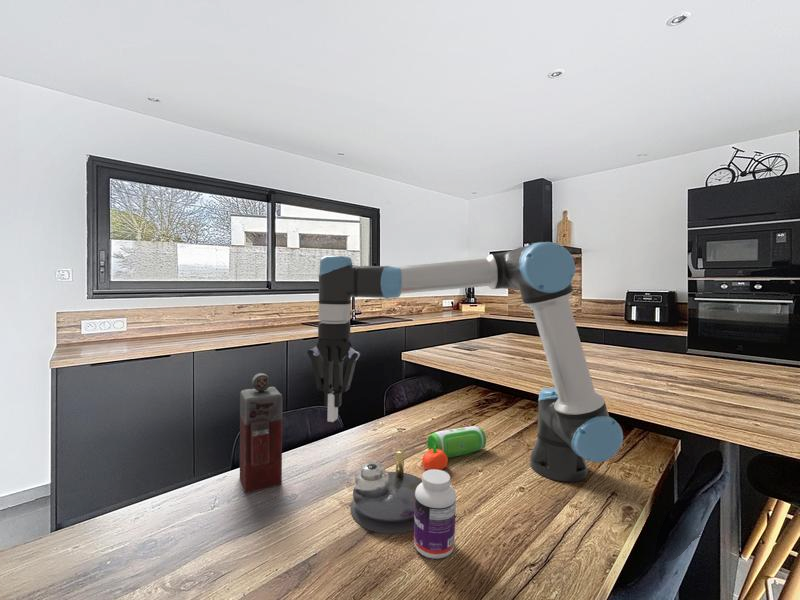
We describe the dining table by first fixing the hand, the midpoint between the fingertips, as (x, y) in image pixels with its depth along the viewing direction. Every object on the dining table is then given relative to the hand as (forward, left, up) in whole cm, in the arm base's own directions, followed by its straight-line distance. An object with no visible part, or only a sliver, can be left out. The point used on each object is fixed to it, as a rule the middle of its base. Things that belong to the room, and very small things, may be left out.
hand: (332, 419), depth 91 cm
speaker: (-27, -33, -19) cm, 47 cm away
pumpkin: (-22, -21, -19) cm, 36 cm away
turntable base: (-15, 0, -19) cm, 24 cm away
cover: (-10, 0, -15) cm, 18 cm away
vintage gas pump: (+20, -1, -19) cm, 28 cm away
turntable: (-15, 0, -17) cm, 23 cm away
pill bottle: (-27, +11, -19) cm, 34 cm away
